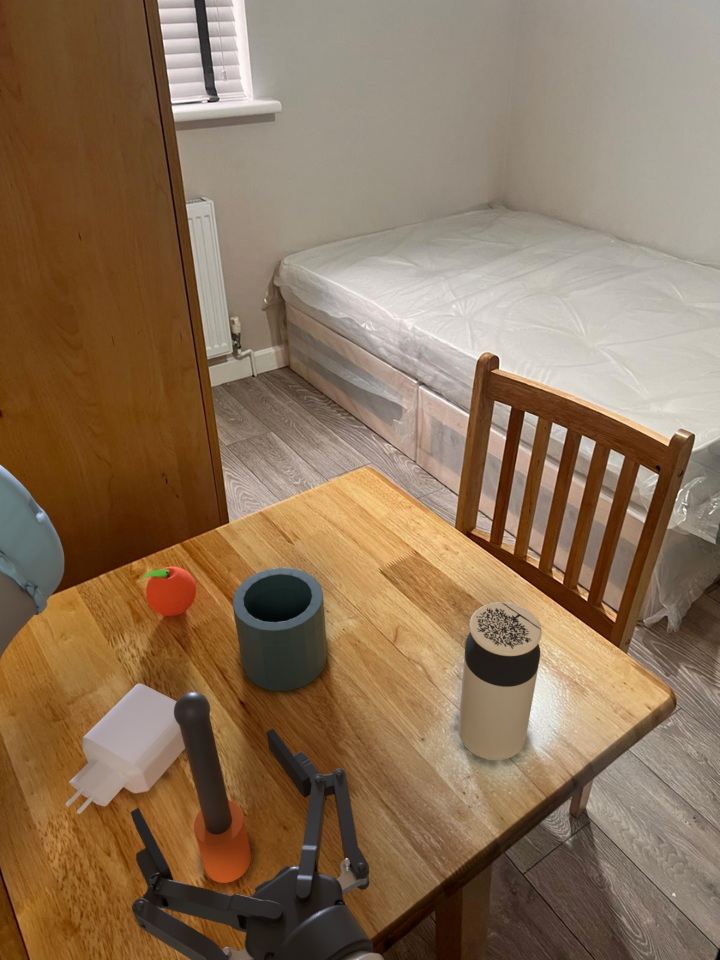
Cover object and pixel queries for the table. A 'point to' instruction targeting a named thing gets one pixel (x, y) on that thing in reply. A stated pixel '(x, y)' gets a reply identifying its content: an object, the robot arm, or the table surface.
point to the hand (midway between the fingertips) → (207, 776)
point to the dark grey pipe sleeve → (281, 628)
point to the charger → (129, 747)
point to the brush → (212, 795)
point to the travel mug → (498, 680)
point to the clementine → (170, 590)
